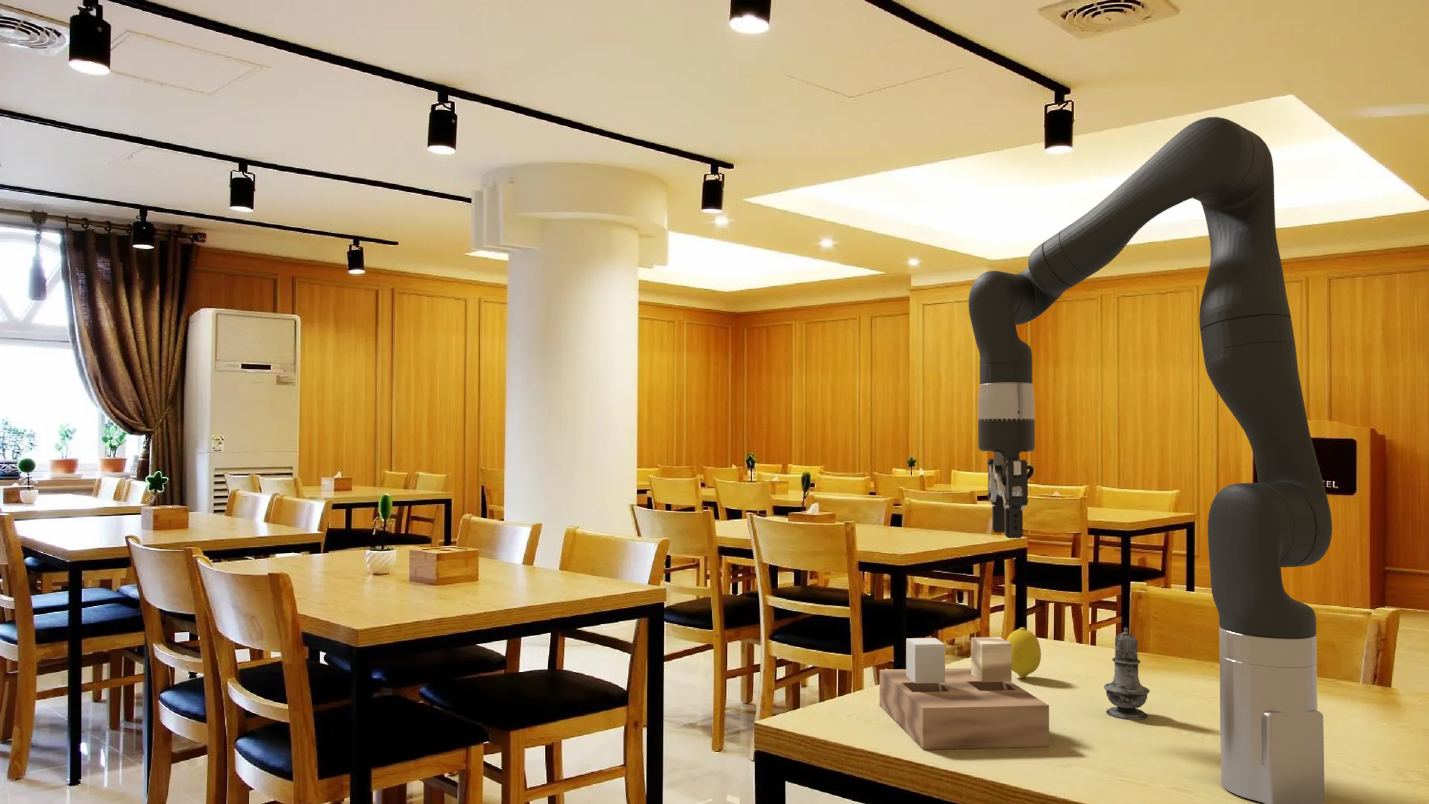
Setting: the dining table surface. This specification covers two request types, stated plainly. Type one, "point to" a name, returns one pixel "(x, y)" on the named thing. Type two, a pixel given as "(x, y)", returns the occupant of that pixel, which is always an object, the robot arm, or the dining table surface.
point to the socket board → (964, 711)
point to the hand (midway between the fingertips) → (1007, 535)
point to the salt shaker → (1126, 680)
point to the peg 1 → (925, 660)
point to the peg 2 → (991, 659)
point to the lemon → (1024, 652)
